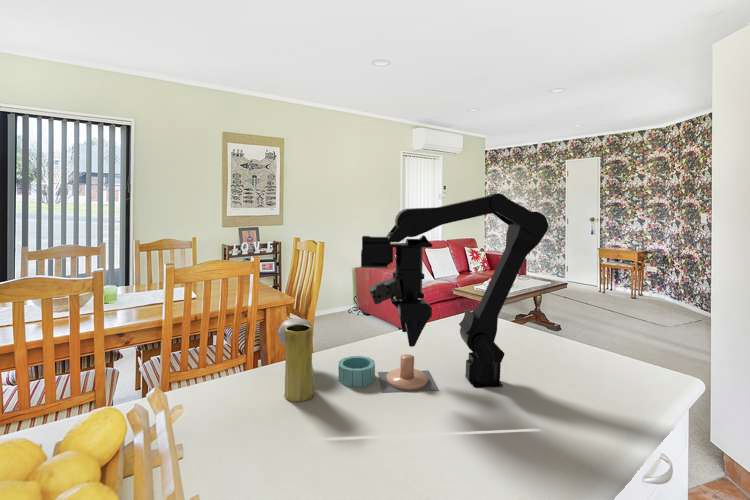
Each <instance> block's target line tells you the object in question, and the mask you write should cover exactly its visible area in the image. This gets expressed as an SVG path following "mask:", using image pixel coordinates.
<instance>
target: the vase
mask: <svg viewBox="0 0 750 500" xmlns="http://www.w3.org/2000/svg"><path fill="white" fill-rule="evenodd" d="M312 328H313V327H312ZM312 328H311V326H309V325H306V324H294V325H290V326H287V327H286V328H285V336H286V339H285V346H284V347H285V350H284V352H285V353H284V354H285V369H284V371H285V372H284V394H283V395H284V398H285V400H287V401H291V402H295V403H296V402H305V401H308V400H310V399H312V398H313V397H314V395H315V384H314V382H315V381H314V369H313V345H312V344H313V341H312V340H313V335H312Z"/></svg>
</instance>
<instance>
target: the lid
mask: <svg viewBox="0 0 750 500" xmlns="http://www.w3.org/2000/svg"><path fill="white" fill-rule="evenodd" d="M399 362H400V364H399V368H396V369H392V370H390V371H388V372H389V373H388V374H387V383H388V384H389V385H390V386H391V387H394V388H396V389H400V390H417V389H421V388H423V387H425V386H426V385H427V382H428V377H427V375H426V374H425V373H424V372H422V371H423V370H419V369H415V356H414V355H413V354H409V353H405V354H402V355H400V361H399Z"/></svg>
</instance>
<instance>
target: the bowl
mask: <svg viewBox="0 0 750 500" xmlns="http://www.w3.org/2000/svg"><path fill="white" fill-rule="evenodd" d="M375 381H376V363H375V360H374V359H373V358H371V357H367V356H364V355H363V356H362V355H352V356H351V355H350V356H347V357H343V358H342V359H340V360H339V361H338V382H339V383H340V384H341V385H342V386H345V387H350V388H362V387H367V386H369V385H372V384H373V383H374V382H375Z"/></svg>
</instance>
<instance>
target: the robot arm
mask: <svg viewBox="0 0 750 500" xmlns="http://www.w3.org/2000/svg"><path fill="white" fill-rule="evenodd" d="M490 214H492V215H494V216H495V217H497V218H498V219H499V220H501V222H503V223H505V225H507V226H508V227H507V230H506V233H505V234H506V237H505V247H504V250H503V252H502V254H501V256H500V259H499V260H498V263H497V265H496V268H495V269H494V271H493V274H492V276H491V278H490V281H488V284H487V287H486V289H485V291H484V293H483V295H482V296H481V299H480V302H479V304H478V305H477V306H476V307H475V308H474V310H472V311H471V310H469V309H466V310H465V313H464V316H463V319H462V320H461V321H460V322H459V323H458V325H459V327H460V328H459V335H460V337H461V339H462V341H463V342H464V344H465V345H466V346H467V348H468V349H469V350H470V351H471V352H468V358H467V359H466V361H465V375H464V377H465V378H466V380H467V381H468V382H469V384H471V385H472V387H473V388H475V389H481V388H504V384H503V383H502V382H501V363H502V362H503V360H504V357H505V352H504V351H503V350H502V349H501V348H500V347H499V346H498V345H497V344H496V343H495V339H496V336H497V333H498V325H499V324H498V322H499V315H500V313H501V311H502V309H503V307H504V304H505V302H506V300H507V298H508V296H509V294H510V291H511V289H512V287H513V285H514V283H515V281H516V279H517V277H518V275H519V272H520V270H521V268H522V266H523V263H524V261H525V260H526V257H527V256H528V255H529V254H530V253H531V252H532V251H533V250H534V249H535V248H537V246H539V244H540V243H541V241H542V239H543V238H544V237H545V235H546V234H547V232H548V229H549V222H548V219H547V217H546V216H545V215H544V214H543V213H542V212H540V211H534V210H533V211H532V210H529V209H528V208H526V207H524V206H522V205H520V204H519V203H517V202H515V201H513V200H511V199H509V198H508V197H507V196H506V195H504V194H503V193H490V194H488V195H486V196H481V197H477V198H472V199H467V200H462V201H458V202H454V203H450V204H445V205H441V206H437V207H416V208H415V207H413V208H405V209H402V210H400V211H399V212H398V213H397V215H396V216H395V219H394V226H393V227H392V229H391V230H390V231H388V233H387V235H386V236H370V235H363V236H362V237H361V249H360V251H361V252H360V268H361V269H388V267H389V266H390V265H391V264H393V263H394V248H395V270H393V271H394V272H392V278H388V279H386V280H385V279H384V280H382V281H379V282H377V283H374V284H372V285H369V286H368V290H369V293H370V296H371V298H372V299H371V300H372V301H373V303H374V305H380V304H381V303H383V302H384V301H387V300H389V299H390V300H389V301H391V303H392V304H393V306H395V307H396V309H397V312H398V315H397V316H398V317H399V321H400V327H401V332H402V333H406V335H407V341H408V347H415V346H416V344H417V343H418V340H419V338H420V336H421V334H422V333H423V330H424V328H425V326H426V324H427V323H428V321H429V320H430V318H432V317H433V308H432V306H431V305H430V304H429V303H428V302H427V301H426V299H425V293H424V292H423V280H425V274H424V273H423V264H424V263H423V261H424V260H423V253H424V249H423V248H432V247H433V244H432V243H431V242H430V241H429V240H428V239H427V237H426V235H424V233H427V232H430V231H432V230H434V229H436V228H437V227H440V226H442V225H446V224H451V223H455V222H460V221H463V220H464V221H465V220H468V219H473V218H477V217H482V216H485V215H486V216H487V215H490ZM420 235H421V237H420V238H415V237H418V236H420ZM405 239H406V240H405ZM403 240H405V242H402V243H400V242H401V241H403ZM388 265H389V266H388Z"/></svg>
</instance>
